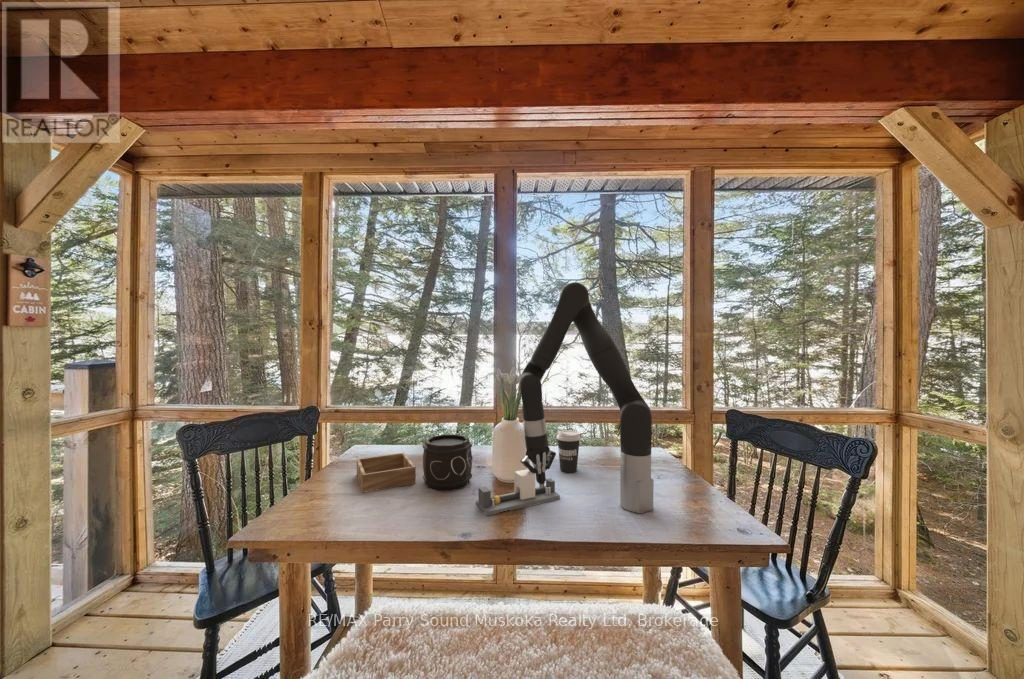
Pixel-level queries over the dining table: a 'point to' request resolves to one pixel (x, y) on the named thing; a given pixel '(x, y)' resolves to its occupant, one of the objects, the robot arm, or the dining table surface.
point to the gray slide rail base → (514, 498)
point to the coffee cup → (568, 450)
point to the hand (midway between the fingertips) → (541, 483)
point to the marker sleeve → (524, 484)
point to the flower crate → (385, 471)
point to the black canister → (447, 462)
